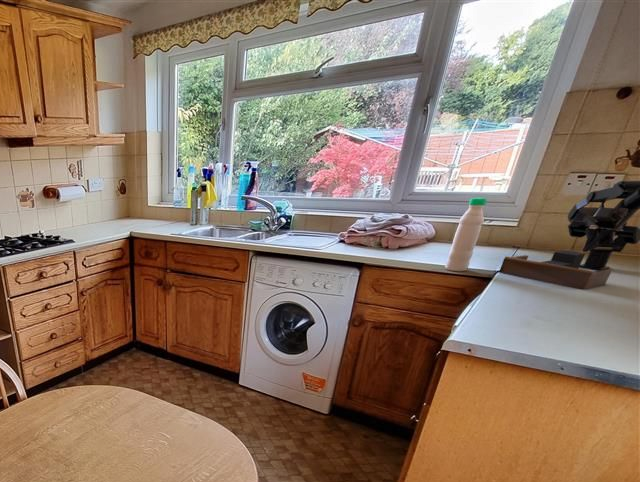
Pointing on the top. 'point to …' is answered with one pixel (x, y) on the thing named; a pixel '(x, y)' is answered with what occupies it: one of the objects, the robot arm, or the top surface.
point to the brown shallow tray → (554, 273)
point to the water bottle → (466, 236)
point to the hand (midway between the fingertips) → (584, 250)
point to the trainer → (566, 259)
